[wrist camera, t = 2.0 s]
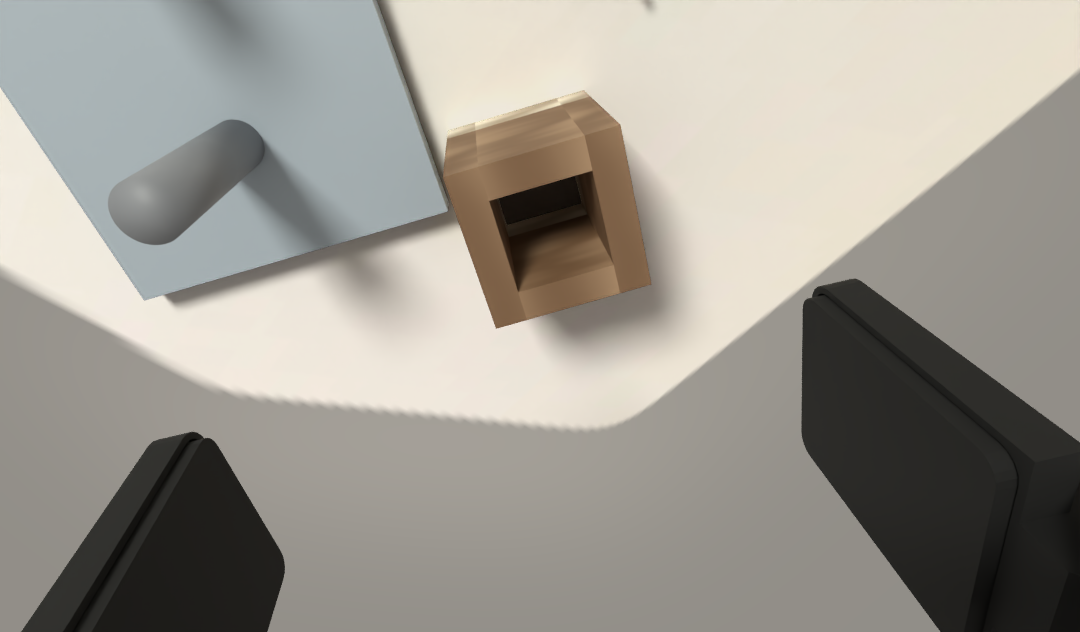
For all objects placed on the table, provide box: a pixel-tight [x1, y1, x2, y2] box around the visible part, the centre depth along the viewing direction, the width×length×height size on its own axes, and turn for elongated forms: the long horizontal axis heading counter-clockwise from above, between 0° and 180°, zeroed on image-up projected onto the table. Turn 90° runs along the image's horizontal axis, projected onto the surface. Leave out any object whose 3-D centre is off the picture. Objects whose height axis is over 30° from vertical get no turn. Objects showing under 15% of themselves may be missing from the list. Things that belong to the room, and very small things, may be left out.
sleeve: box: [443, 90, 651, 329], centre depth 24 cm, size 6×6×7 cm
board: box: [0, 0, 449, 300], centre depth 19 cm, size 14×20×9 cm
